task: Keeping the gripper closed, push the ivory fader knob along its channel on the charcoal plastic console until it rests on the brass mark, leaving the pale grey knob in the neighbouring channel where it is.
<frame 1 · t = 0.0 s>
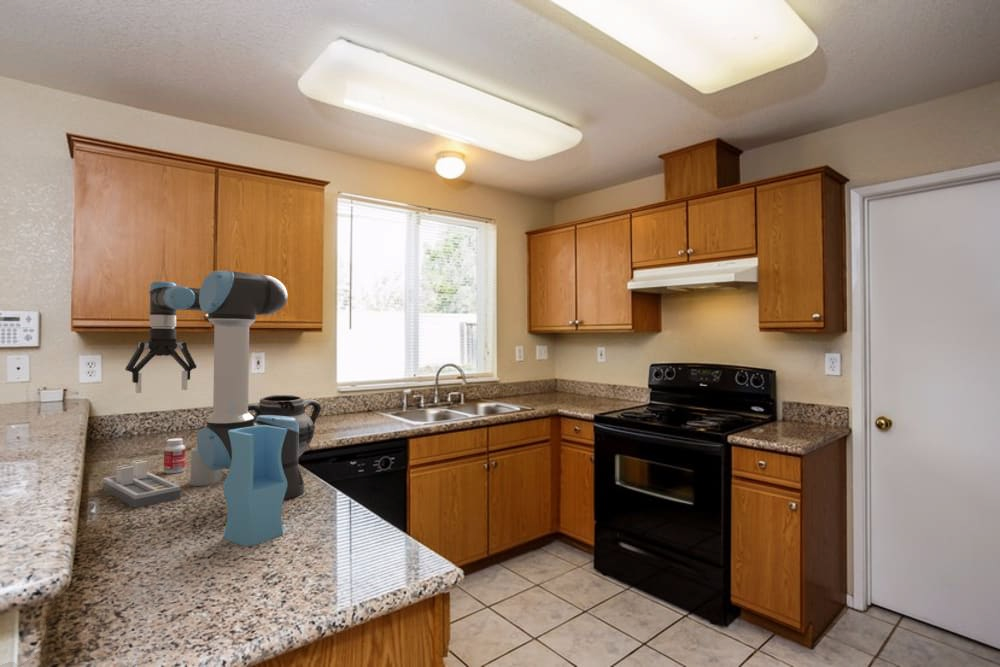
hand: (162, 391, 170), 28 cm above the countertop, fingers open, 13 cm apart
fader a: (139, 469, 157), point 5 cm above the countertop, slide at 0.0 cm
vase: (255, 536, 120), on the countertop
mug: (206, 481, 164), on the countertop
fader b: (124, 474, 151), point 5 cm above the countertop, slide at 0.0 cm
ceramic pot: (280, 466, 184), on the countertop
pill bottle: (174, 472, 174), on the countertop
console: (140, 493, 150), on the countertop
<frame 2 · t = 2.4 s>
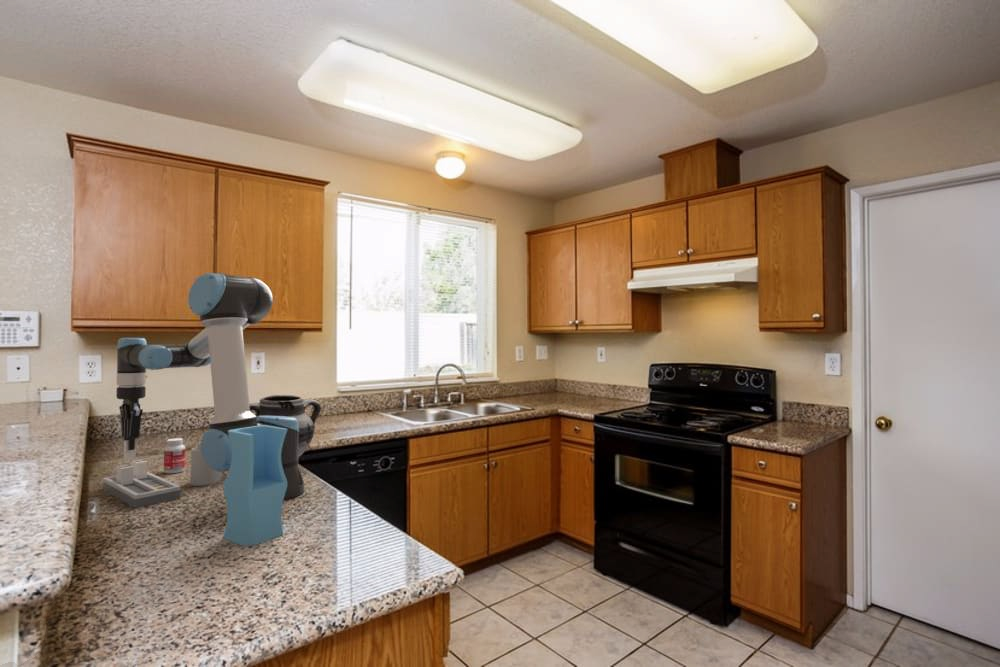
hand: (129, 459, 162), 7 cm above the countertop, fingers closed
nothing on the countertop moved.
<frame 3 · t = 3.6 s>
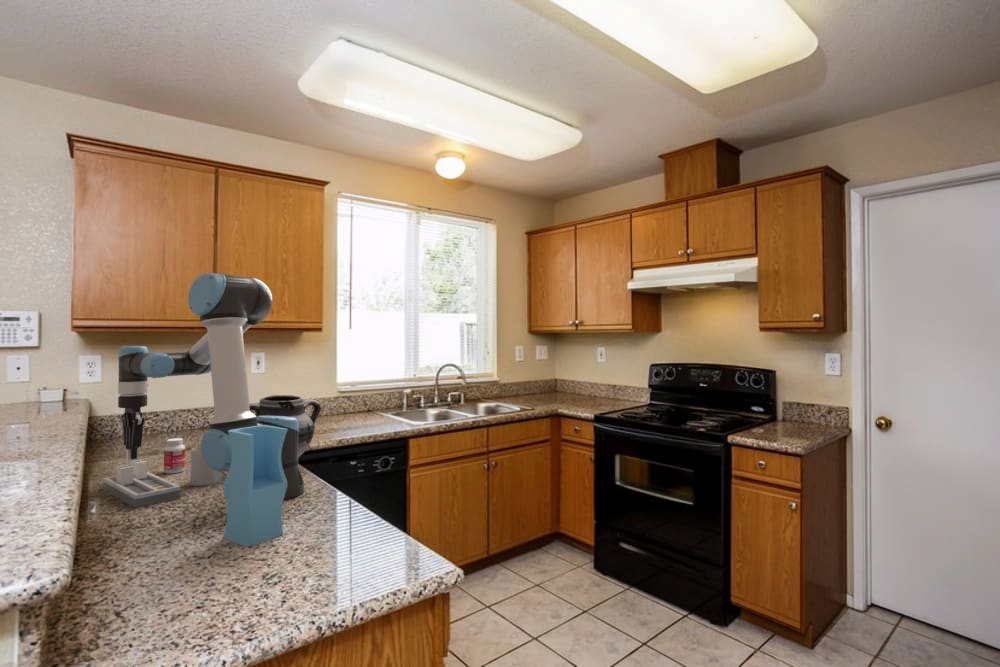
hand: (132, 468, 161), 4 cm above the countertop, fingers closed
nothing on the countertop moved.
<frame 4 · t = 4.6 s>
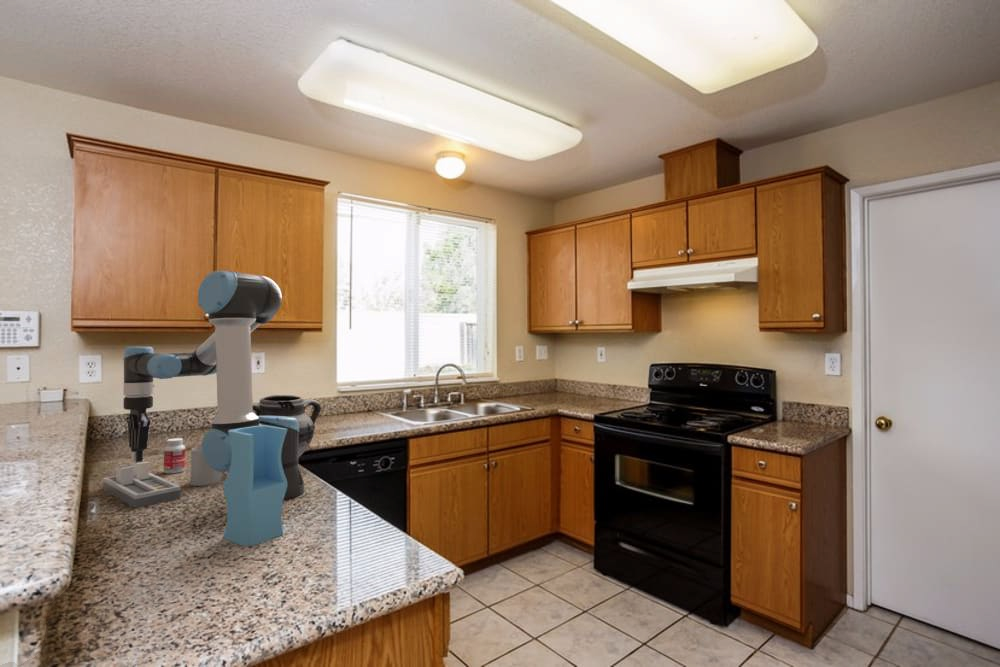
hand: (137, 471, 158), 4 cm above the countertop, fingers closed
fader a: (140, 469, 157), point 5 cm above the countertop, slide at 1.3 cm
everything else where it was.
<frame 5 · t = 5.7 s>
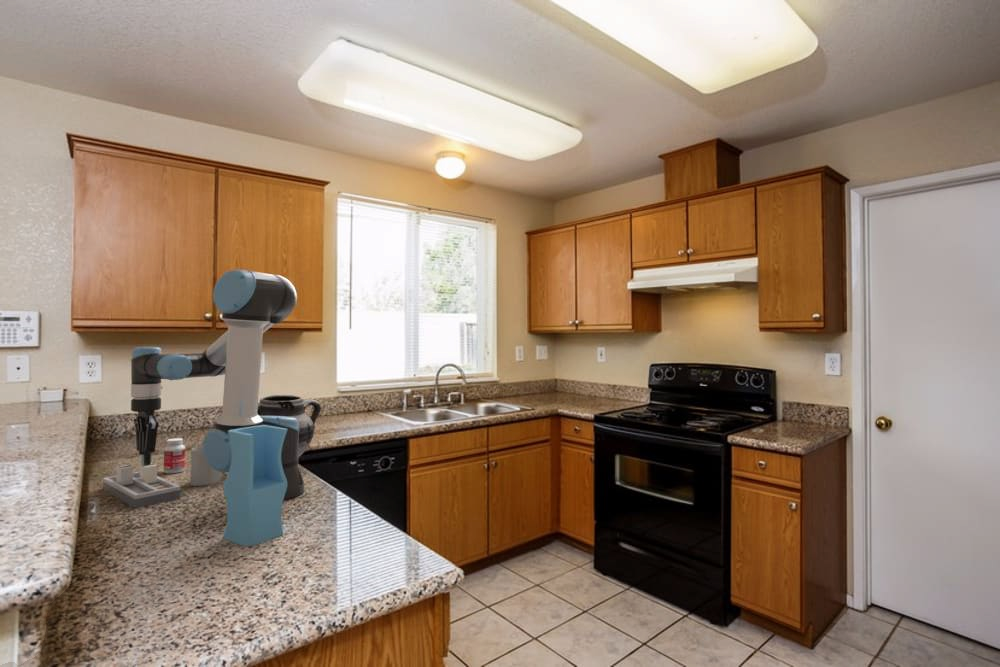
hand: (145, 474, 155), 4 cm above the countertop, fingers closed
fader a: (148, 473, 153), point 5 cm above the countertop, slide at 7.5 cm, touching gripper
everything else where it was.
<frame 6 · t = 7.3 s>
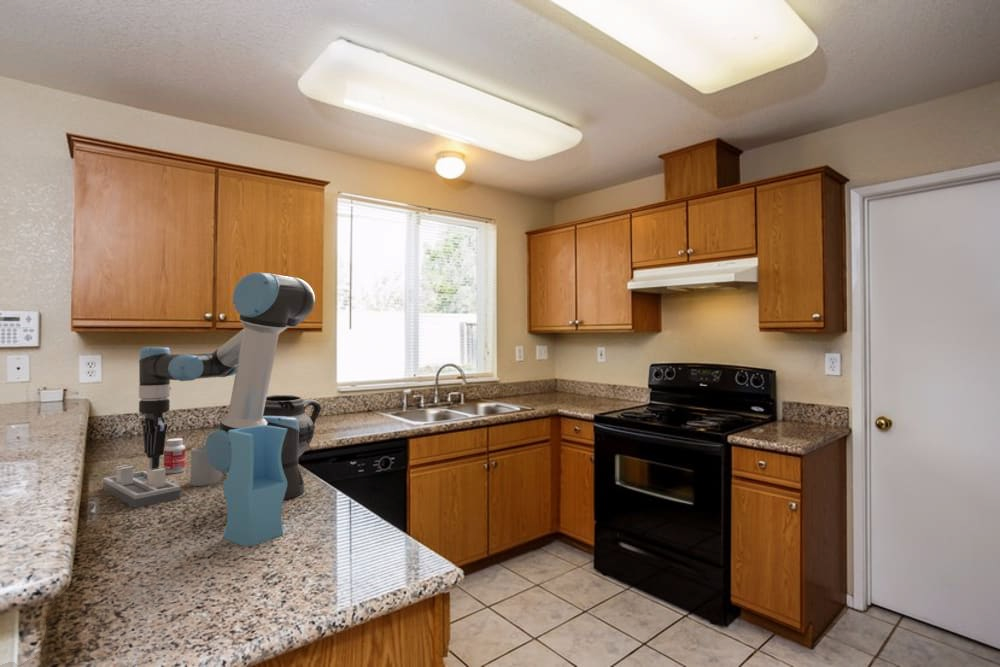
hand: (153, 478, 151), 4 cm above the countertop, fingers closed
fader a: (157, 477, 149), point 5 cm above the countertop, slide at 14.0 cm, touching gripper
everything else where it was.
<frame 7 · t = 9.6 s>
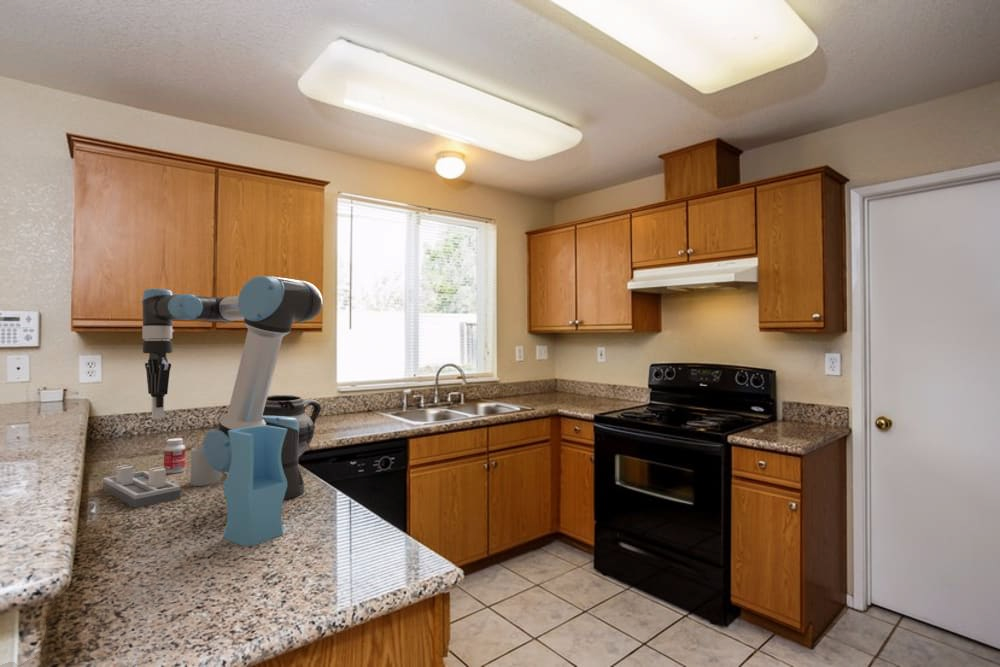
hand: (157, 417, 154), 22 cm above the countertop, fingers closed
fader a: (157, 477, 149), point 5 cm above the countertop, slide at 14.2 cm
everything else where it was.
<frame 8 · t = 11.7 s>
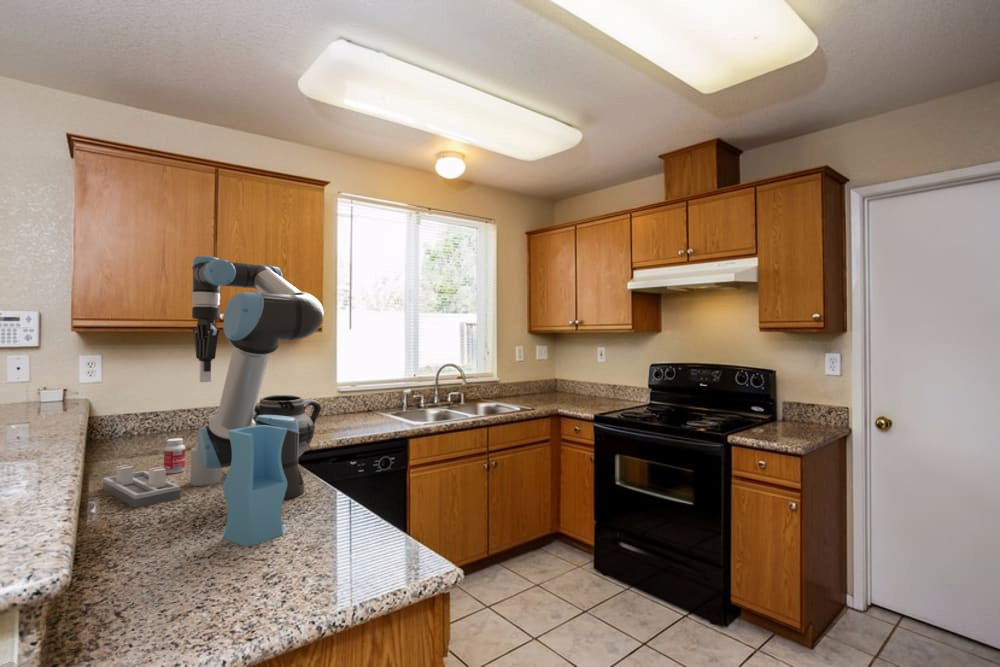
hand: (205, 381, 159), 32 cm above the countertop, fingers closed
nothing on the countertop moved.
at the end: fader a slide at 14.2 cm; fader b slide at 0.0 cm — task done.
